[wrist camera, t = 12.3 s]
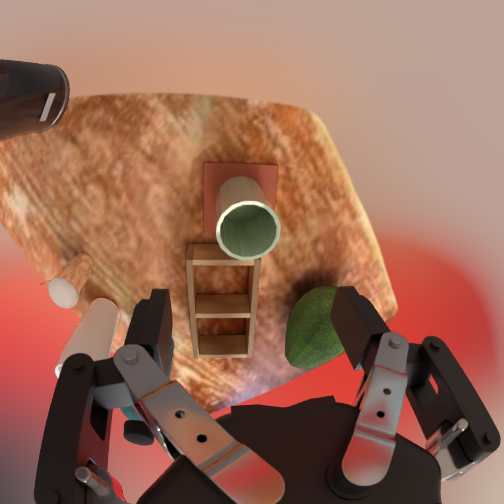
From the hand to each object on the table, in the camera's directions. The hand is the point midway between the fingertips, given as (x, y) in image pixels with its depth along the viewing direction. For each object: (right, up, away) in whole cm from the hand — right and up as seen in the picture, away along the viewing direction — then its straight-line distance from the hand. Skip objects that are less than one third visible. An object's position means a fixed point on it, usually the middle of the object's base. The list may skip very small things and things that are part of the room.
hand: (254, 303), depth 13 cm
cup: (-2, +9, +22) cm, 24 cm away
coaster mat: (-2, +9, +23) cm, 25 cm away
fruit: (+9, -7, +33) cm, 35 cm away
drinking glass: (-24, -7, +29) cm, 38 cm away
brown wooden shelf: (-5, -4, +29) cm, 30 cm away
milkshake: (-25, +1, +24) cm, 35 cm away
